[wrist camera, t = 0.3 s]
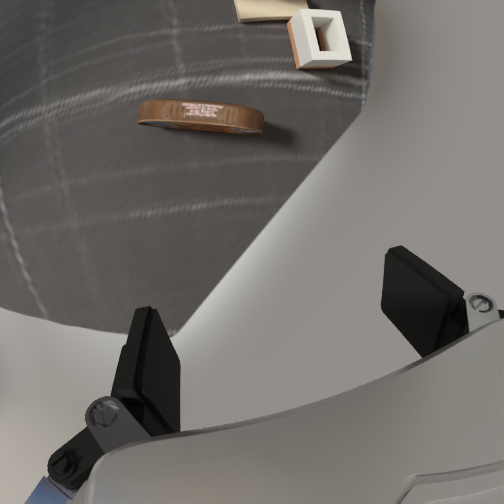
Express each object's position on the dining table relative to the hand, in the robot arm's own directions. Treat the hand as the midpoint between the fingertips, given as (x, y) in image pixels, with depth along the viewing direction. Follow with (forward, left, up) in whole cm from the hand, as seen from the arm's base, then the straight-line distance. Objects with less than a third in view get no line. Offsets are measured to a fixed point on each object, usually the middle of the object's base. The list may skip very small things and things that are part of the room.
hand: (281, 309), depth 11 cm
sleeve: (-18, +16, -30) cm, 38 cm away
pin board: (-27, +11, -30) cm, 42 cm away
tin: (-9, -1, -30) cm, 32 cm away
